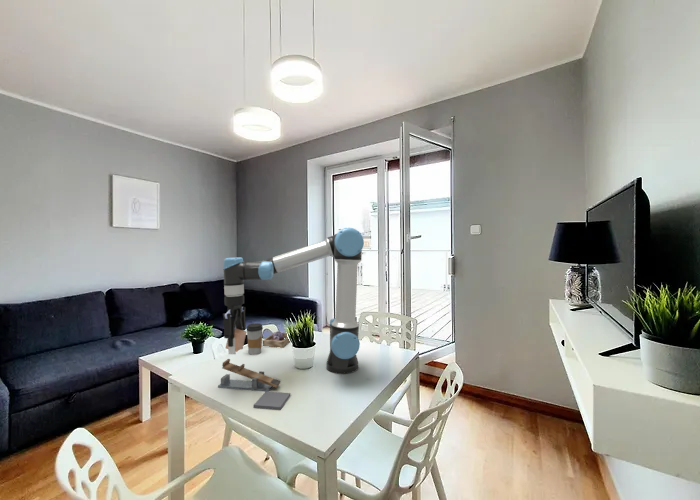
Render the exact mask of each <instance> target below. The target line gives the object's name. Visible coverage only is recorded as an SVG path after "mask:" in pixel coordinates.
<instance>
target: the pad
mask: <svg viewBox="0 0 700 500" xmlns="http://www.w3.org/2000/svg"><path fill="white" fill-rule="evenodd" d="M291 396H292V395H291V392H283V391H282V392H280V391H279V392H278V391H264V392H263V394H262V395H261V396H260V397H259V398H258V399H257V401H256V402H254V403H253V408H254V409H261V410H262V409H265V410H276V411H277V410H278V411H281V410H282V408H283V407H284V406H285V404H287V402H288V400H289V399H290V397H291Z"/></svg>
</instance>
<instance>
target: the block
mask: <svg viewBox="0 0 700 500" xmlns="http://www.w3.org/2000/svg"><path fill="white" fill-rule="evenodd" d="M246 336H247V330H244V331H243V330H240V329H237V328H236V327H235V332H234V338H235V344H236V353H237V352H238V351H240V350H243V349H244V345H245V339H246ZM226 339H227V341H226V344H225V349H227V350H228V338H226ZM242 348H243V349H242Z"/></svg>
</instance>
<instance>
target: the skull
mask: <svg viewBox="0 0 700 500" xmlns="http://www.w3.org/2000/svg"><path fill="white" fill-rule="evenodd" d="M273 333H274V332H273ZM273 333H272V334H273ZM282 333H283V332H282V331H279V330H277V331H276V333H274V334H273V335H272V338H271V339H270V340H271V341H283V340H284V337H283V334H282Z"/></svg>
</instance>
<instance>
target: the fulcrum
mask: <svg viewBox="0 0 700 500" xmlns="http://www.w3.org/2000/svg"><path fill="white" fill-rule="evenodd" d="M258 373H262V374H263V375H265V371H259V372H258ZM217 388H219V389H229V390H232V389H233V390H244V391H247V390H248V391H259V392H266V391H269V392H271V390H272V389H273V388H274V387H273V386H270V385H267V384H264V383H262V382H259V381H257V378H252V379H251V380H244V379H243V380H242V379H232V378H231V374H230V373H228V374H227V373H226V374H224V375H223V376H222V377H220V383H219V384H218V385H217Z"/></svg>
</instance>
